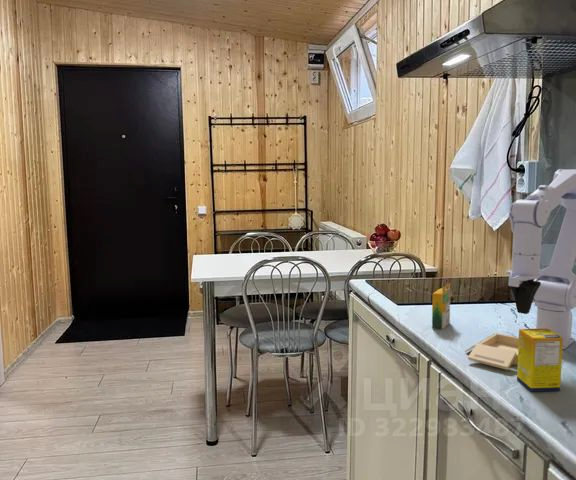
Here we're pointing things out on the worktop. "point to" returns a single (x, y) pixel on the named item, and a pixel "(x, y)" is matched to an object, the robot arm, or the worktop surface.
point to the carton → (502, 344)
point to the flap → (492, 356)
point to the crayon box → (441, 308)
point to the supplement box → (539, 359)
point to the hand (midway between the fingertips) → (523, 312)
